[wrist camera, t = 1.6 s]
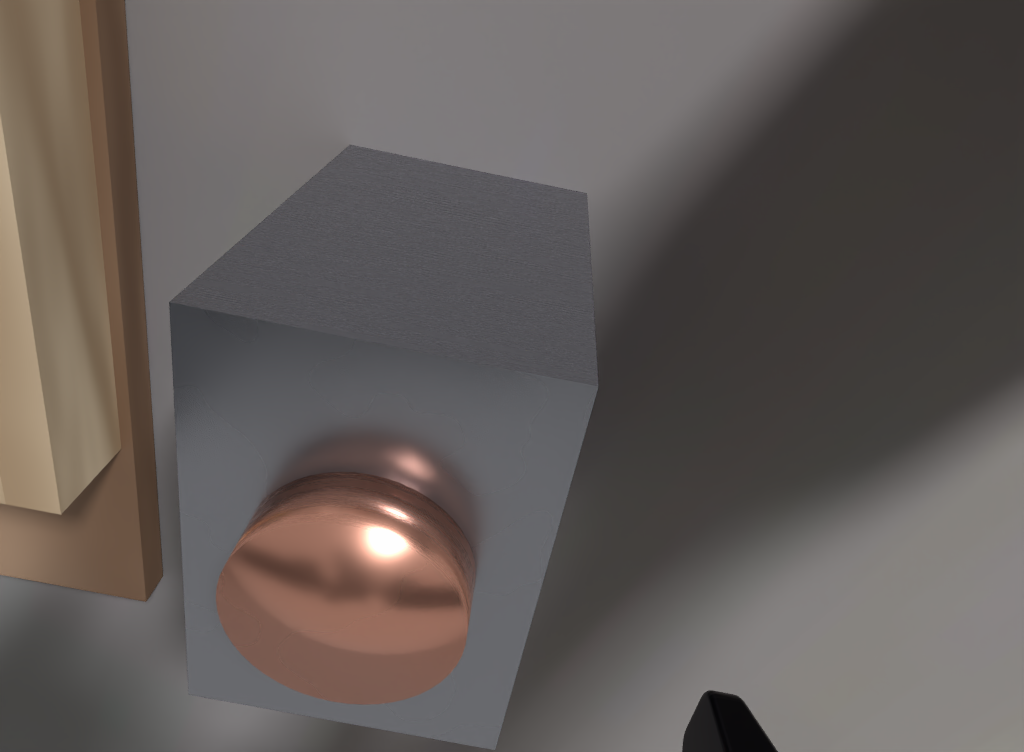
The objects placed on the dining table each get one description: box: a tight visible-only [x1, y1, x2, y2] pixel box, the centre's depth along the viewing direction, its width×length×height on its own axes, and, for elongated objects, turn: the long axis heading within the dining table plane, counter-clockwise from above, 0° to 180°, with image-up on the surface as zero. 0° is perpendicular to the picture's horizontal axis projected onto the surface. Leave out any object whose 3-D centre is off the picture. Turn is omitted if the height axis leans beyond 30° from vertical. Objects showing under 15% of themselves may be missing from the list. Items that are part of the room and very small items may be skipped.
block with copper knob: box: [169, 145, 599, 750], centre depth 13 cm, size 5×7×9 cm
